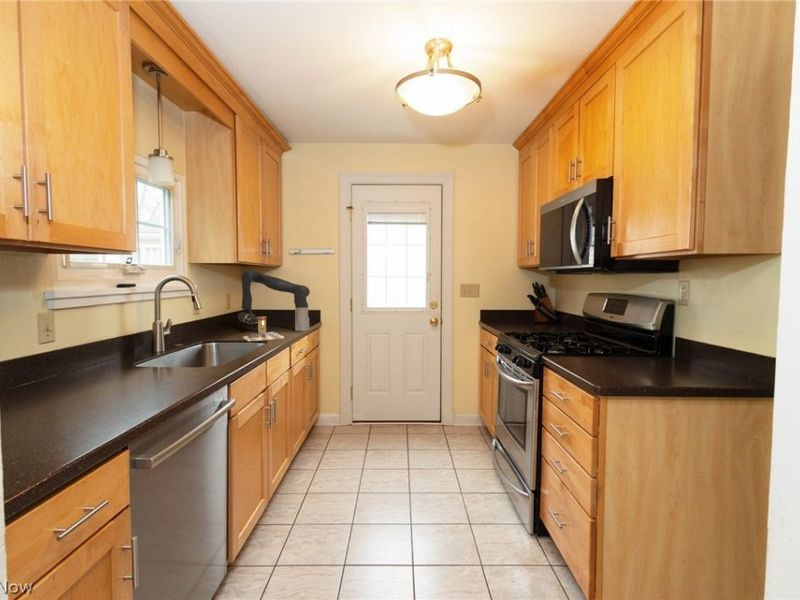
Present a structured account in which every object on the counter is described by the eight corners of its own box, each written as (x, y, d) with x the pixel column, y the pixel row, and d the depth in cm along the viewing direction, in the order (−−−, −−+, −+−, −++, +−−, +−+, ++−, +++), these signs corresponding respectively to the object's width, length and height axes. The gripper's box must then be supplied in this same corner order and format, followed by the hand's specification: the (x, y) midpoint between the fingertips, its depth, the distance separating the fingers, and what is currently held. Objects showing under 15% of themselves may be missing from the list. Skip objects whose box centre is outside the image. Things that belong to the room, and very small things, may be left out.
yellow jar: (265, 334, 272) (265, 316, 271) (268, 335, 267) (267, 317, 266) (256, 335, 268) (256, 316, 268) (258, 336, 263) (258, 317, 263)
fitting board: (277, 335, 266) (277, 331, 266) (283, 338, 255) (283, 333, 255) (242, 338, 253) (242, 333, 253) (248, 341, 243) (248, 335, 243)
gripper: (240, 314, 285) (246, 316, 272) (261, 313, 293) (267, 315, 280) (240, 324, 286) (246, 327, 272) (261, 323, 294) (267, 326, 280)
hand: (257, 321), depth 276 cm, fingers open, 8 cm apart
